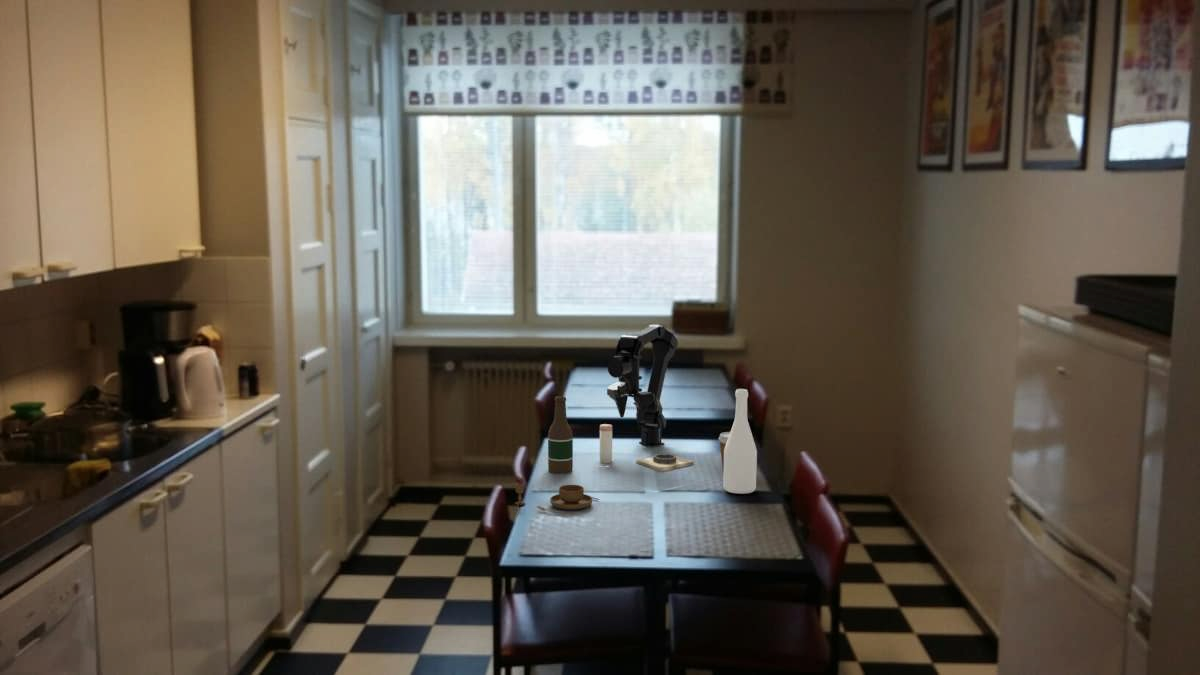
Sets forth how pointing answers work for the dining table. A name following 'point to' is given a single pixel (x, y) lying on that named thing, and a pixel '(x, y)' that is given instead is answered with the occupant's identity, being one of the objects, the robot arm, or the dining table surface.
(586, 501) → the place setting
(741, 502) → the dining table surface
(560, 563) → the dining table surface
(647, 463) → the eye plate
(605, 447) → the peg
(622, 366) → the robot arm
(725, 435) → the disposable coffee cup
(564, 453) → the beer bottle
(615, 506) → the dining table surface
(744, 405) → the wine bottle
